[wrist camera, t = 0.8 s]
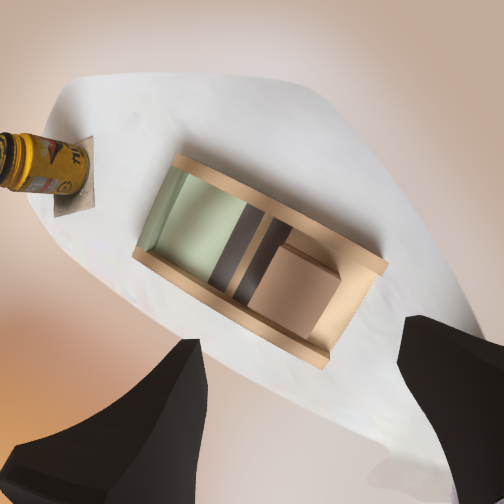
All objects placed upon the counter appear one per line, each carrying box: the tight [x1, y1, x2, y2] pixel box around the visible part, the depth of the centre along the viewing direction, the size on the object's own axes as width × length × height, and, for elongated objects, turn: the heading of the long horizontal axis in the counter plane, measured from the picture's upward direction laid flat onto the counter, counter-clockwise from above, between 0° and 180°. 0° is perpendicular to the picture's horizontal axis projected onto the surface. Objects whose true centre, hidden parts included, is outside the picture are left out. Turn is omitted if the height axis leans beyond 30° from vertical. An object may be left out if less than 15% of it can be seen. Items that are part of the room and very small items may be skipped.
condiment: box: [0, 132, 94, 218], centre depth 26 cm, size 7×8×12 cm
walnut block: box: [248, 243, 342, 339], centre depth 24 cm, size 5×5×4 cm
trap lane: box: [132, 153, 389, 370], centre depth 26 cm, size 20×10×2 cm, turn 62°
